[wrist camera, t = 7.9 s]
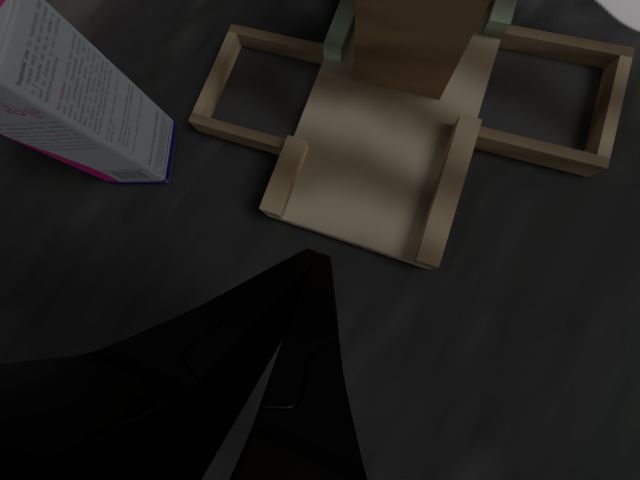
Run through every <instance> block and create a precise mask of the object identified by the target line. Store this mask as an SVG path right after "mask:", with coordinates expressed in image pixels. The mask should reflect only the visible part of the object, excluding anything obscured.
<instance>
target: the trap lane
mask: <svg viewBox="0 0 640 480" xmlns="http://www.w3.org/2000/svg"><path fill="white" fill-rule="evenodd" d="M516 3H517V0H491V1H490V3H489V5H488V7H487V9H486V11H485V13H484V15H483V16H482V18H481V20H480V22H479V24H478V26H477V28H476V30H475V32H474V34H473V36H472V38H471V40H470V42H469V44H468V46H467V48H466V49H465V51H464V53H463V55H462V57H461V59H460V61H459V63H458V65H457V67H456V69H455V71H454V73H453V75H452V77H451V79H450V81H449V82H448V84H447V86H446V88H445V90H444V92H443V94H442V96H441V98H440V100H437V99H433V98H429V97H424V96H420V95H416V94H412V93H407V92H403V91H399V90H395V89H390V88H386V87H382V86H378V85H373V84H369V83H365V82H360V81H356V80H353V63H354V34H355V5H356V0H340V3H339V5H338V8H337V10H336V13H335V16H334V18H333V21H332V23H331V26H330V28H329V31H328V33H327V36H326V39H325V41H324V44H322V43H317V42H312V41H308V40H303V39H299V38H294V37H289V36H285V35H280V34H276V33H271V32H267V31H262V30H257V29H253V28H248V27H244V26H239V25H234V24H231V26H230V29H229V31H228V33H227V35H226V38H225V40H224V42H223V44H222V47H221V49H220V51H219V53H218V56H217V58H216V60H215V62H214V64H213V67H212V69H211V71H210V73H209V76H208V78H207V80H206V82H205V85H204V87H203V89H202V91H201V94H200V96H199V98H198V100H197V103H196V105H195V107H194V109H193V112H192V114H191V116H190V118H189V122H190V123H191V124H192V125H193V126H194V127H195V129H196V130H197V131H198V132H202V133H205V134H209V135H212V136H216V137H219V138H222V139H226V140H229V141H233V142H236V143H239V144H243V145H246V146H250V147H253V148H256V149H260V150H263V151H267V152H270V153H274V154H277V155H280V156H279V158H278V161H277V164H276V166H275V169H274V171H273V174H272V176H271V179H270V181H269V184H268V187H267V189H266V192H265V194H264V197H263V199H262V202H261V204H260V207H259V209H260V210H261V211H263V212H264V213H265V214H266V215H267V216H269V217H272V218H275V219H278V220H281V221H284V222H287V223H290V224H293V225H296V226H299V227H302V228H305V229H308V230H311V231H314V232H317V233H321V234H324V235H327V236H330V237H333V238H336V239H339V240H342V241H345V242H348V243H351V244H354V245H357V246H360V247H363V248H366V249H369V250H372V251H375V252H378V253H381V254H384V255H387V256H390V257H393V258H396V259H399V260H402V261H405V262H408V263H411V264H414V265H417V266H420V267H423V268H426V269H434V268H439V265H440V262H441V258H442V255H443V252H444V248H445V245H446V241H447V238H448V235H449V231H450V228H451V224H452V221H453V218H454V214H455V211H456V207H457V204H458V201H459V197H460V194H461V190H462V187H463V184H464V180H465V177H466V173H467V170H468V167H469V163H470V160H471V156H472V153H473V150H474V148H476V149H480V150H484V151H487V152H491V153H495V154H499V155H503V156H507V157H511V158H515V159H518V160H522V161H526V162H530V163H534V164H538V165H542V166H546V167H550V168H553V169H557V170H561V171H565V172H569V173H573V174H577V175H581V176H584V177H589V176H591V175H594V174H596V173H598V172H601V171H603V170H605V169H608V165H609V161H610V156H611V152H612V147H613V143H614V138H615V134H616V129H617V125H618V121H619V116H620V112H621V107H622V103H623V98H624V94H625V89H626V85H627V80H628V76H629V71H630V67H631V62H632V58H633V53H634V49H635V48H631V47H626V46H621V45H615V44H610V43H605V42H599V41H594V40H588V39H583V38H578V37H572V36H567V35H562V34H556V33H551V32H545V31H540V30H535V29H529V28H524V27H519V26H513V25H510V24H511V20H512V17H513V14H514V10H515V7H516Z"/></svg>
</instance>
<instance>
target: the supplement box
mask: <svg viewBox="0 0 640 480" xmlns="http://www.w3.org/2000/svg"><path fill="white" fill-rule="evenodd" d="M176 129H177V125H176V123H175V122H174V121H173V120H172V119H171V118H170V117H169V116H168V115H166V114H165V113H164V112H163V111H162V110H161V109H160V108H159V107H158V106H157V105H156V104H155V103H154V102H153V101H152V100H151V99H150V98H148V97H147V96H146V95H145V94H144V93H143V92H142V91H141V90H140V89H139V88H138V87H137V86H136V85H134V84H133V83H132V82H131V81H130V80H129V79H128V78H127V77H126V76H125V75H124V74H123V73H122V72H121V71H120V70H119V69H117V68H116V67H115V66H114V65H113V64H112V63H111V62H110V61H109V60H108V59H107V58H106V57H105V56H104V55H103V54H102V53H101V52H100V51H99V50H97V49H96V48H95V47H94V46H93V45H92V44H91V43H90V42H89V41H88V40H87V39H86V38H85V37H84V36H83V35H82V34H80V33H79V32H78V31H77V30H76V29H75V28H74V27H73V26H72V25H71V24H70V23H69V22H68V21H67V20H65V19H64V18H63V17H62V16H61V15H60V14H59V13H58V12H57V11H56V10H55V9H54V8H53V7H52V6H51V5H49V4H48V3H47V2H46V1H45V0H0V134H1V135H3V136H5V137H7V138H10V139H12V140H14V141H17V142H19V143H21V144H24V145H26V146H28V147H30V148H33V149H35V150H37V151H39V152H42V153H44V154H46V155H48V156H51V157H53V158H55V159H58V160H60V161H62V162H64V163H67V164H69V165H71V166H73V167H76V168H78V169H80V170H82V171H85V172H87V173H89V174H92V175H94V176H96V177H98V178H101V179H103V180H105V181H107V182H109V183H113V184H147V183H169V180H170V174H171V166H172V158H173V151H174V144H175V137H176Z"/></svg>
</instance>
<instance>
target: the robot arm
mask: <svg viewBox="0 0 640 480" xmlns="http://www.w3.org/2000/svg"><path fill="white" fill-rule="evenodd" d="M282 340H283V341H282ZM281 341H282V343H281ZM280 343H281V346H280V349H279V352H278V355H277V358H276V361H275V363H274V366H273V369H272V372H271V375H270V378H269V381H268V384H267V386H266V389H265V392H264V395H263V398H262V401H261V404H260V406H259V411H258V412H257V415H256V418H255V421H254V423H253V426H252V429H251V431H250V434H249V436H248V439H247V441H246V444H245V446H244V448H243V451H242V453H241V455H240V457H239V460H238V462H237V464H236V466H235V469H234V471H233V473H232V475H231V477H230V480H367V477H366V474H365V470H364V466H363V462H362V458H361V454H360V450H359V445H358V441H357V436H356V432H355V427H354V423H353V419H352V414H351V410H350V405H349V401H348V396H347V391H346V386H345V381H344V375H343V369H342V361H341V353H340V342H339V333H338V322H337V311H336V300H335V289H334V278H333V267H332V257H331V255H328V254H325V253H322V252H320V253H319V252H318V251H317V250H314V249H311V248H306V249H304V250H302V251H301V252H299V253H297V254H295V255H293V256H291V257H289V258H288V259H286V260H284V261H282V262H280V263H278V264H277V265H275V266H273V267H271V268H269V269H267V270H266V271H264V272H262V273H260V274H258V275H256V276H255V277H253V278H251V279H249V280H247V281H245V282H243V283H242V284H240V285H238V286H236V287H234V288H232V289H231V290H229V291H227V292H225V293H224V294H223V295H219V296H218V297H216V298H214V299H212V300H210V301H208V302H206V303H204V304H202V305H200V306H198V307H196V308H195V309H193V310H190V311H188V312H186V313H184V314H182V315H179V316H177V317H175V318H173V319H171V320H168V321H166V322H164V323H161V324H159V325H157V326H155V327H152V328H150V329H148V330H145V331H143V332H141V333H138V334H136V335H134V336H131V337H129V338H127V339H124V340H122V341H120V342H117V343H115V344H112V345H110V346H107V347H105V348H102V349H99V350H96V351H92V352H88V353H84V354H80V355H75V356H68V357H59V358H50V359H41V360H32V361H24V362H15V363H6V364H0V480H201V479H202V478H203V476H204V474H205V472H206V471H207V469H208V467H209V466H210V464H211V462H212V460H213V459H214V457H215V455H216V452H218V450H219V448H220V446H221V445H222V443H223V441H224V440H225V438H226V436H227V434H228V433H229V431H230V429H231V427H232V426H233V424H234V422H235V421H236V419H237V417H238V415H239V414H240V412H241V410H242V408H243V407H244V405H245V403H246V402H247V400H248V398H249V396H250V395H251V393H252V391H253V390H254V388H255V386H256V384H257V383H258V381H259V379H260V377H261V376H262V374H263V372H264V371H265V369H266V367H267V365H268V364H269V362H270V360H271V359H272V357H273V355H274V353H275V352H276V350H277V348H278V346H279V345H280Z"/></svg>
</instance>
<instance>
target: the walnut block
mask: <svg viewBox="0 0 640 480" xmlns="http://www.w3.org/2000/svg"><path fill="white" fill-rule="evenodd" d="M490 1H491V0H356V5H355V34H354V63H353V80H356V81H360V82H365V83H369V84H373V85H378V86H382V87H386V88H390V89H395V90H399V91H403V92H407V93H412V94H416V95H420V96H424V97H429V98H433V99H437V100H440V98H441V96H442V94H443V92H444V90H445V88H446V86H447V84H448V82H449V81H450V79H451V77H452V75H453V73H454V71H455V69H456V67H457V65H458V63H459V61H460V59H461V57H462V55H463V53H464V51H465V49H466V48H467V46H468V44H469V42H470V40H471V38H472V36H473V34H474V32H475V30H476V28H477V26H478V24H479V22H480V20H481V18H482V16H483V15H484V13H485V11H486V9H487V7H488V5H489V3H490Z"/></svg>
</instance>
